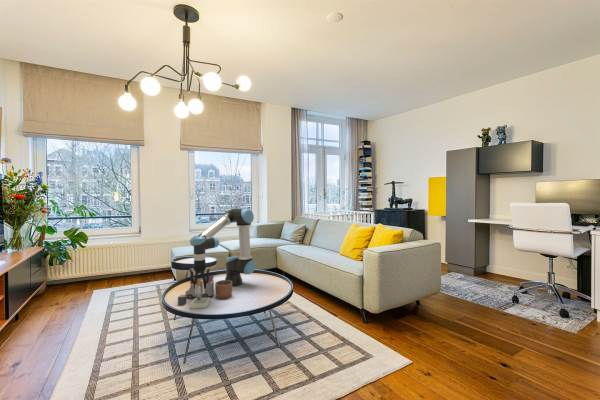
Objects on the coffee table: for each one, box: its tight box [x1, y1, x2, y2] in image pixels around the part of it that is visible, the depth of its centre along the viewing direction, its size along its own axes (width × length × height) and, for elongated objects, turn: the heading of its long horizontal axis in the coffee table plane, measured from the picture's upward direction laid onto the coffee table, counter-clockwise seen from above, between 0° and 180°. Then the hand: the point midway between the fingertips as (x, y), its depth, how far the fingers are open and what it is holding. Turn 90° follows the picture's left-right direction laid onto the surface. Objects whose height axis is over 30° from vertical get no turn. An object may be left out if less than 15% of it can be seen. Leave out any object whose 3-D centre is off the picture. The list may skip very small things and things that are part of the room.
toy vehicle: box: [184, 275, 215, 300], centre depth 215 cm, size 9×20×15 cm, turn 95°
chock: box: [177, 294, 187, 306], centre depth 201 cm, size 4×5×6 cm
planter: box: [214, 279, 233, 300], centre depth 215 cm, size 12×12×11 cm
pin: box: [196, 280, 202, 300], centre depth 198 cm, size 4×4×12 cm
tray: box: [189, 296, 211, 309], centre depth 199 cm, size 11×11×4 cm
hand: (200, 293), depth 198 cm, fingers open, 4 cm apart
